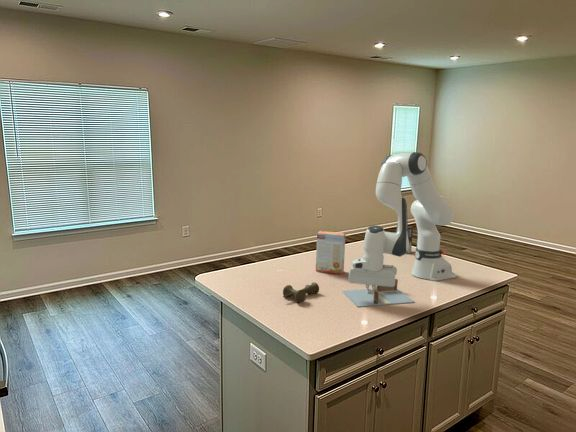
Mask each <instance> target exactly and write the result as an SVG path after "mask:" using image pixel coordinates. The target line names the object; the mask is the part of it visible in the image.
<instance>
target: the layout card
mask: <svg viewBox="0 0 576 432" xmlns="http://www.w3.org/2000/svg"><path fill="white" fill-rule="evenodd" d="M398 281H399V279H398V278H395V286H394V287H387V286H377V285H376V286H377V291H378V292H379V295H378V303H374V298H373V295H372V294H368V290H367V288H363V289H362V288H361V289H350V290H349V289H347V290H342V291H341V292H342V293H343V294H344V295H345V296H346V297H347V298H348V299H349V300H350V301H351V302H352V303H353V304H354V305H355V306H356V307H357V308H363V307H365V308H366V307H375V306H390V305H400V304H401V305H402V304H413V303H416V301H415V300H414V299H412V298H411V297H409V296H408V295H407V294H406V293H404V292H403V291H401V290H400V289H399V288H398ZM370 289H371V290H372V288H370Z"/></svg>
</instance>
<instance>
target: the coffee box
mask: <svg viewBox="0 0 576 432" xmlns="http://www.w3.org/2000/svg"><path fill="white" fill-rule="evenodd" d="M413 229H414V228H413V226H412V225H408V240H409V249H408V252H407V253H406V254H412V245H413ZM397 232H398V224H397V225H396V233H397Z"/></svg>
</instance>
